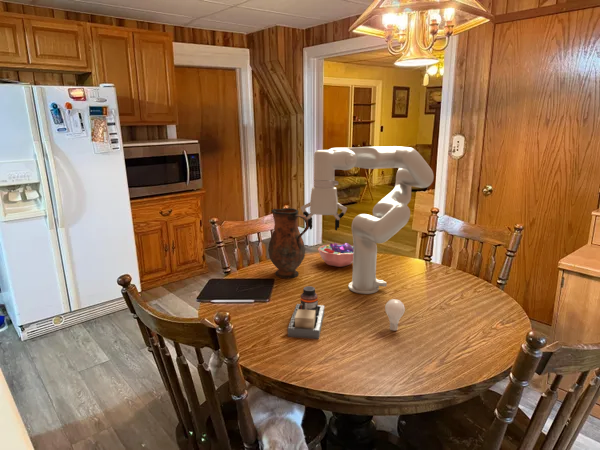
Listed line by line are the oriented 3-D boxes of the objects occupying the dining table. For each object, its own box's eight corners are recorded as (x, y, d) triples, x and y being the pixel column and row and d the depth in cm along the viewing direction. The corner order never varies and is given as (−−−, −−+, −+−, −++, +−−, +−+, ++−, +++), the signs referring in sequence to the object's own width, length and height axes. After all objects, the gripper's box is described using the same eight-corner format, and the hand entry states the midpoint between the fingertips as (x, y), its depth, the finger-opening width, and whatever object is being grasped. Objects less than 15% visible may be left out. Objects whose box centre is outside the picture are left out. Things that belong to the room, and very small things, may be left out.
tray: (324, 315, 146) (324, 305, 145) (318, 341, 129) (318, 330, 128) (296, 313, 148) (296, 303, 147) (287, 339, 130) (287, 328, 130)
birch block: (315, 326, 136) (315, 310, 135) (313, 335, 131) (313, 318, 129) (297, 325, 137) (297, 309, 136) (294, 334, 132) (294, 317, 130)
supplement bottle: (299, 314, 145) (299, 285, 142) (316, 313, 145) (316, 284, 143) (301, 322, 139) (301, 292, 136) (318, 321, 140) (318, 291, 137)
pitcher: (285, 265, 197) (284, 204, 190) (319, 275, 184) (320, 211, 176) (260, 274, 185) (258, 210, 178) (295, 286, 172) (295, 217, 164)
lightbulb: (404, 327, 138) (406, 297, 135) (402, 336, 132) (404, 305, 129) (385, 324, 140) (386, 294, 137) (382, 333, 134) (384, 302, 131)
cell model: (322, 257, 208) (322, 236, 205) (361, 261, 203) (362, 239, 200) (314, 269, 192) (314, 246, 189) (356, 273, 187) (357, 249, 184)
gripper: (348, 183, 152) (346, 227, 156) (302, 182, 154) (302, 225, 159) (347, 186, 145) (346, 232, 149) (299, 185, 147) (299, 230, 152)
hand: (323, 229), depth 154 cm, fingers open, 9 cm apart
